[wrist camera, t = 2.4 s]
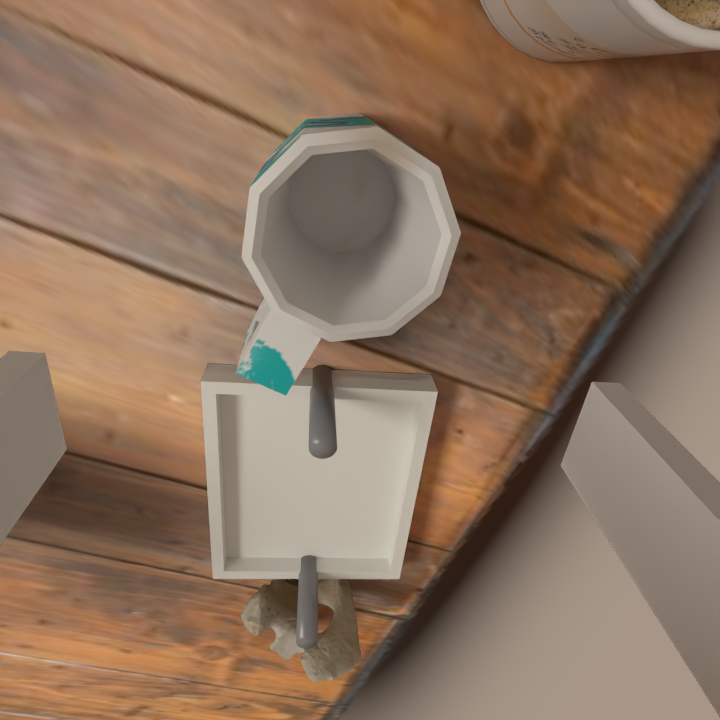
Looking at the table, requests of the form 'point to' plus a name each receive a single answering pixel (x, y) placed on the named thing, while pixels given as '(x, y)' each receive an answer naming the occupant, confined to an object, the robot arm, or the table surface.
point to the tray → (313, 476)
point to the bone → (280, 613)
